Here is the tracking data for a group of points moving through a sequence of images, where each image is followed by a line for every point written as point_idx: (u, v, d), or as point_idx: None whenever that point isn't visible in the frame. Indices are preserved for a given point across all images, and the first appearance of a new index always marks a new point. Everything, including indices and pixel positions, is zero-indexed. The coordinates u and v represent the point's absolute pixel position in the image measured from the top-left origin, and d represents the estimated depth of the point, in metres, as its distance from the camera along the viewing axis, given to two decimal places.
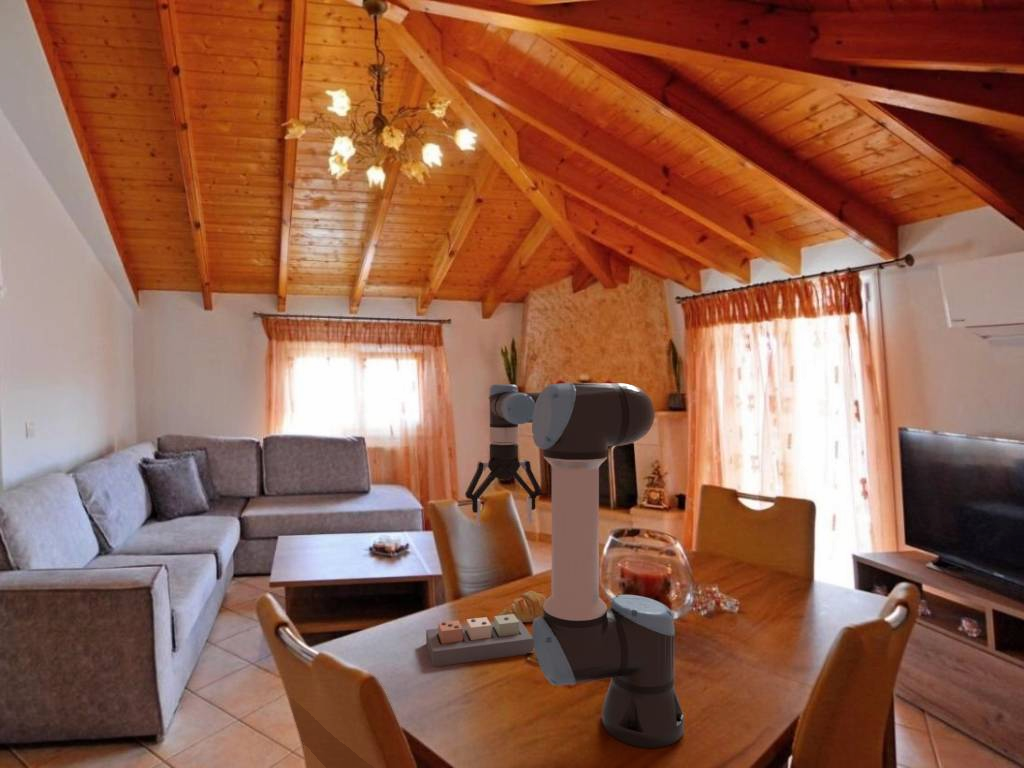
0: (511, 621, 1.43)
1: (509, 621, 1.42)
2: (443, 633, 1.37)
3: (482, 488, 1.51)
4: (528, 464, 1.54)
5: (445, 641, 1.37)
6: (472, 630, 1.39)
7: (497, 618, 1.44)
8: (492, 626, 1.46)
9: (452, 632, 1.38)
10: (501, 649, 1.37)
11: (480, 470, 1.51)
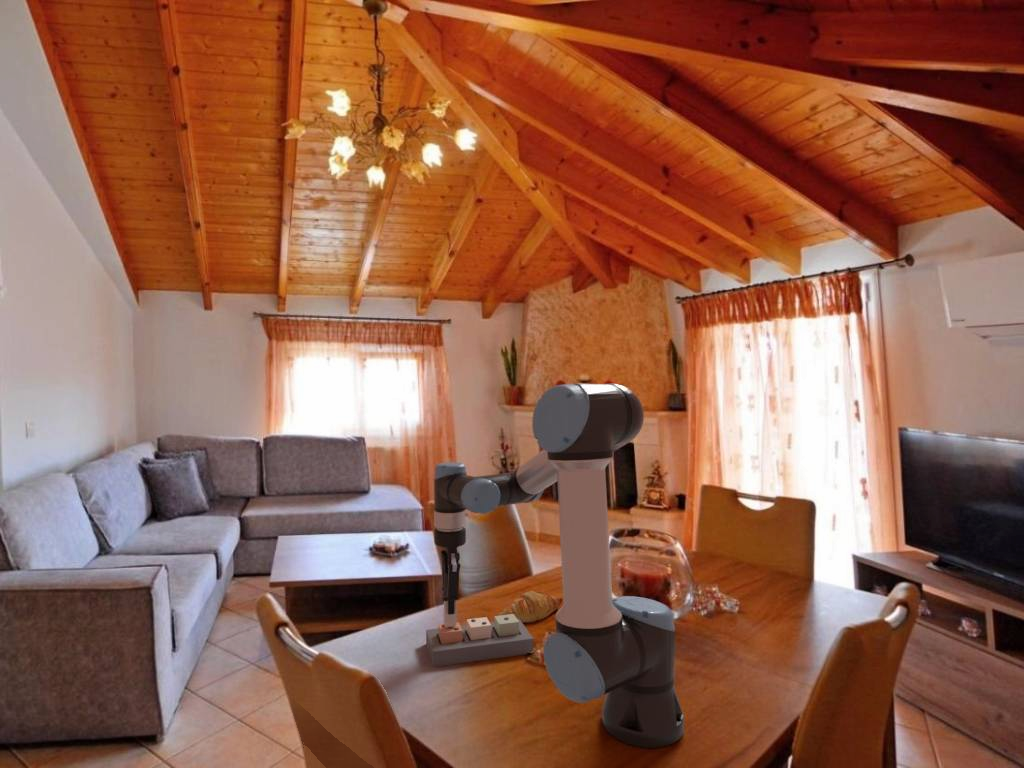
0: (511, 621, 1.43)
1: (509, 621, 1.42)
2: (443, 635, 1.37)
3: (444, 581, 1.41)
4: (448, 568, 1.34)
5: (445, 643, 1.37)
6: (472, 630, 1.39)
7: (497, 618, 1.44)
8: (492, 626, 1.46)
9: (452, 634, 1.38)
10: (501, 649, 1.37)
11: (441, 558, 1.44)
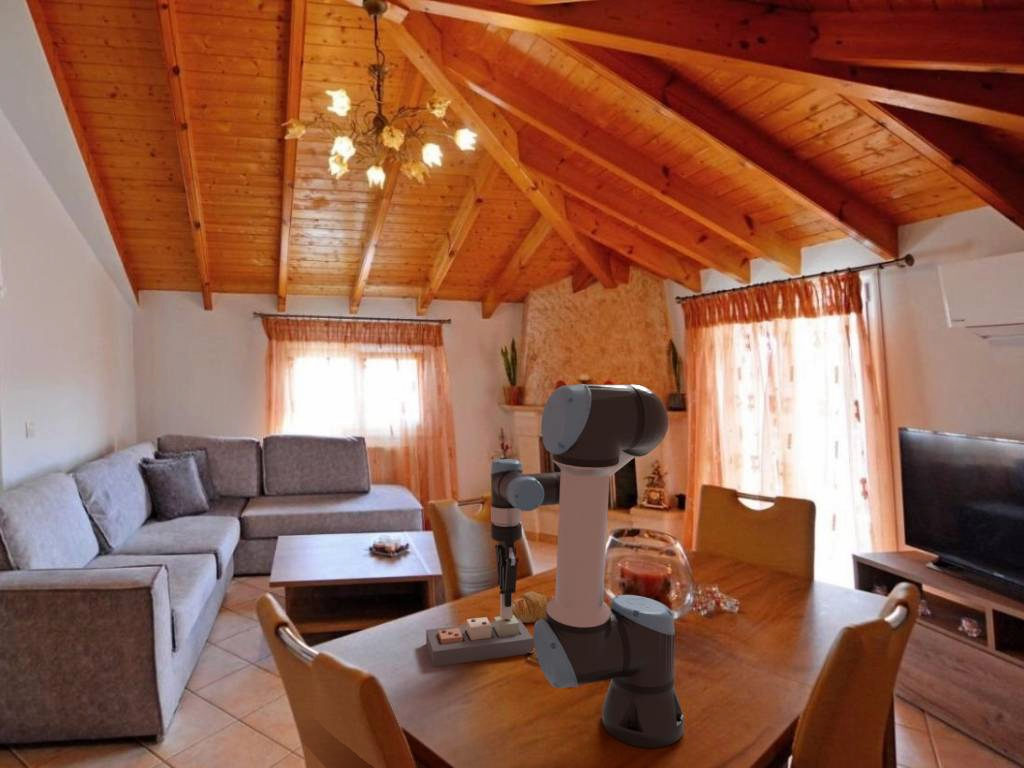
0: (511, 622, 1.43)
1: (509, 622, 1.42)
2: (443, 641, 1.37)
3: (500, 575, 1.45)
4: (507, 561, 1.38)
5: None
6: (472, 630, 1.39)
7: (497, 619, 1.44)
8: (492, 626, 1.46)
9: (452, 640, 1.38)
10: (501, 649, 1.37)
11: (496, 552, 1.48)
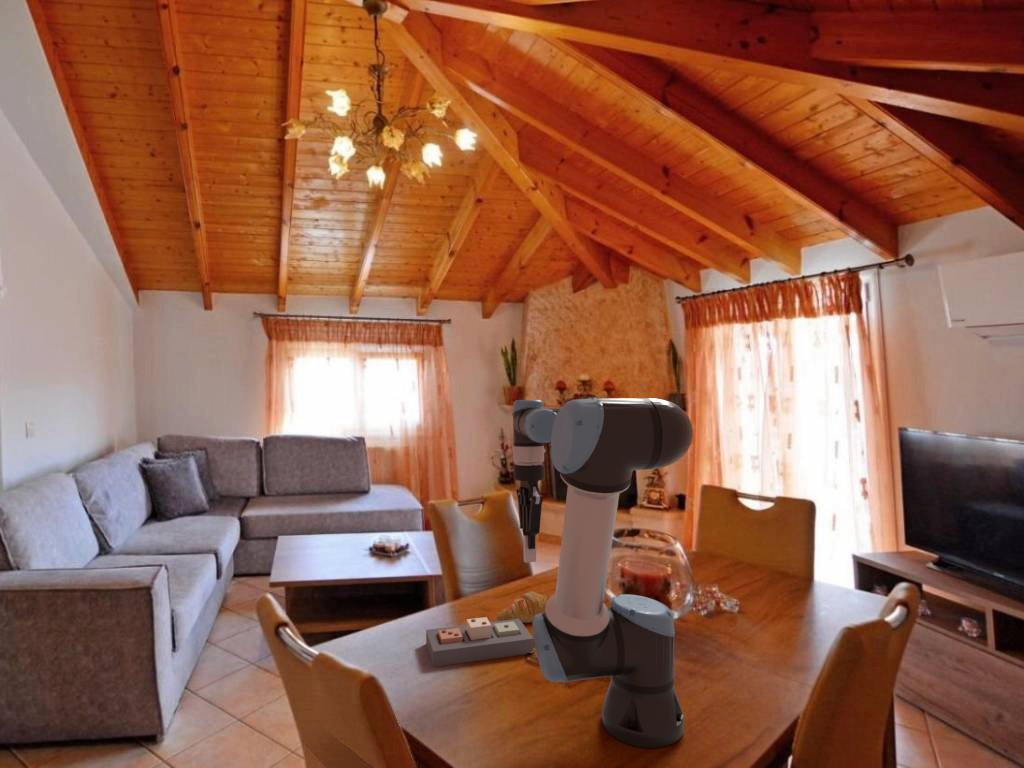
0: (511, 629, 1.43)
1: (509, 629, 1.42)
2: (443, 641, 1.37)
3: (522, 517, 1.42)
4: (532, 499, 1.36)
5: None
6: (472, 630, 1.39)
7: (497, 626, 1.44)
8: (492, 626, 1.46)
9: (452, 640, 1.38)
10: (501, 649, 1.37)
11: (518, 496, 1.46)
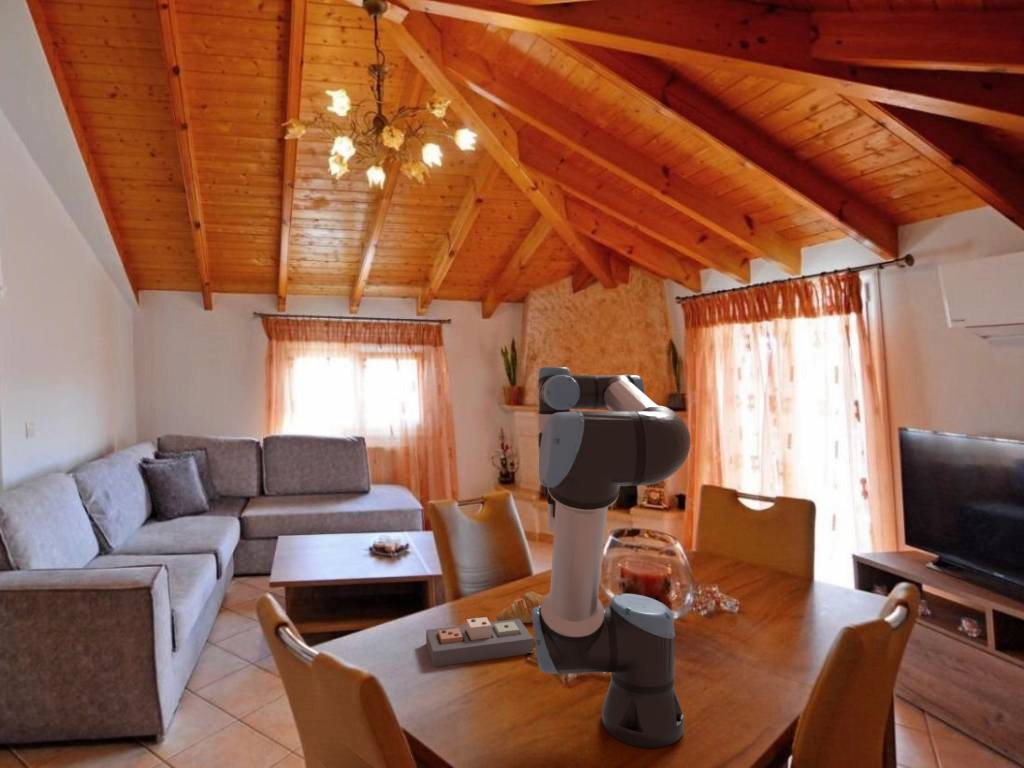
0: (511, 629, 1.43)
1: (509, 629, 1.42)
2: (443, 641, 1.37)
3: None
4: None
5: None
6: (472, 630, 1.39)
7: (497, 626, 1.44)
8: (492, 626, 1.46)
9: (452, 640, 1.38)
10: (501, 649, 1.37)
11: None
